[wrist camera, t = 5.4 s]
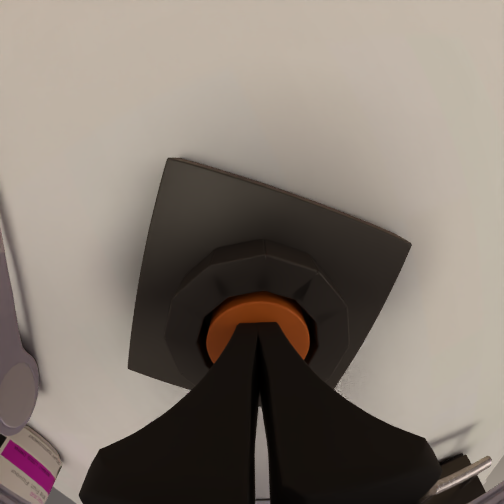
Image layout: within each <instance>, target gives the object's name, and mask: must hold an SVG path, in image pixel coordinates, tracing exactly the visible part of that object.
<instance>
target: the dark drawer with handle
mask: <svg viewBox="0 0 504 504" xmlns="http://www.w3.org/2000/svg"><path fill="white" fill-rule="evenodd" d="M491 464H492V459H491V457H490V456H486V457H484V458H482V459H480V460H479V461H477V462H475V463H473V464H471V463H470V461H469V459H468V457H467V455H464V456H462V457H460V458H457V459H455V460H453V461H451V462H449V463H447V464H444V465H442V466H441V468H442V474H441V476H440V478H439V480H438V481H437V483H436V484H435V485H434V486H433V487H432V488H431V489H430V490H429V491H428V492H427V493H426V494H425V495H424V496H423V497H422V498H421V499H420V500H419V503H420V504H468V503H469V502H471V501H473V500H474V499H476V498H478V497H479V496H481V495H483V494H484V493H486V492H485V490H484V488H483V486H482V484H481V482H480V480H479V478H478V476H477V475H478V474H479V473H480V472H482V471H484V470H485V469H487V468H489V467H490V466H491Z"/></svg>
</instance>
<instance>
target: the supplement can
mask: <svg viewBox="0 0 504 504" xmlns="http://www.w3.org/2000/svg"><path fill="white" fill-rule="evenodd" d="M61 467H62V462H61V460H60V458H59V454H58V453H57V451H56V450H55V449H54V448H53V447H52V446H51V445H50V443H48V442H47V441H46V440H45V439H44V438H43V437H42V436H40V435H39V434H38V433H37V432H35V431H34V430H33V429H31V428H30V427H28V426H27V425H25V427H24V428H23V429H22V430H21V431H20V432H19V433H17V434H15V435H12V436H4V435H2V434H1V433H0V483H1V484H2V485H3V486H5V487H6V488H8V489H9V490H11V491H13V492H14V493H16V494H17V495H19V496H21V497H22V498H24V499H26V500H27V501H29V502H31V503H32V504H45V502H46V500H47V498H48V495H49V493H50V491H51V489H52V486H53V484H54V482H55V480H56V478H57V476H58V473H59V471H60V469H61Z"/></svg>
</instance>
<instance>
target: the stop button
mask: <svg viewBox="0 0 504 504" xmlns="http://www.w3.org/2000/svg"><path fill="white" fill-rule="evenodd" d="M258 322H277V323H278V324H279V326H280V328H281V329H282V331H283V333H284V334H285V336H286V337H287V339H288V340H289V342H290V343H291V345H292V346H293V347H294V349H295V350H296V351H297V352H298V354H299V355H300V356H301V357H302V359H303V360H304V359H305V357H306V355H307V353H308V349H309V344H310V336H309V332H308V328H307V325H306V322H305V319H304V316H303V313H302V309H301V307H300V305H299V304H298V303H297V302H296V301H295V300H294V299H290V298H287V297H283V296H280V295H276V294H273V293H269V292H266V291H260V292H254V293H249V294H243V295H238V296H232V297H228V298H227V299H226V300H225V301H223V302H222V303H221V304H220V305H218V306H217V307H216V308H215V309H213V313H212V317H211V321H210V325H209V329H208V334H207V339H206V345H207V351H208V354H209V356H210V358H211V360H212V362H213V363H215V362H216V360H217V359H218V358H219V356H220V355H221V353H222V352H223V350H224V349H225V347H226V345H227V344H228V342H229V340H230V339H231V337H232V335H233V333H234V331H235V328H236V326H237V325H238V324H239V323H258Z"/></svg>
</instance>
